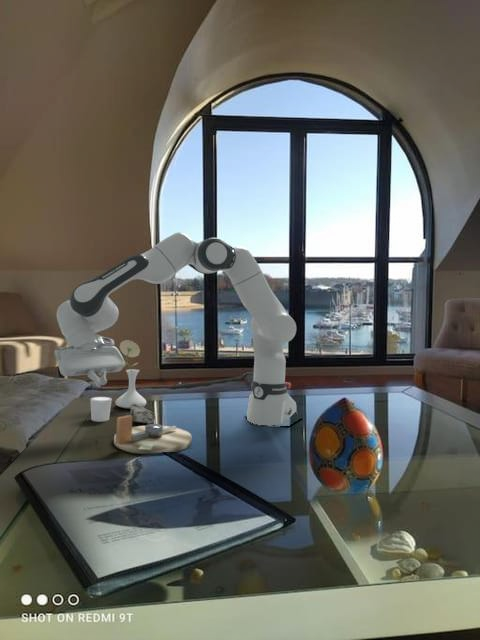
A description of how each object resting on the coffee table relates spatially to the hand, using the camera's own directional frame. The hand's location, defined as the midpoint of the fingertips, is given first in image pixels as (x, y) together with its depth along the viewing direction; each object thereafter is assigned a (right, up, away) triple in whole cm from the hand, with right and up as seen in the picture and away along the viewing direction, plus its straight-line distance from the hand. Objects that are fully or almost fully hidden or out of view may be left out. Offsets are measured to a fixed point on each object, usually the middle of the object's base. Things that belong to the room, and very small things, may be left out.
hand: (101, 384), depth 131 cm
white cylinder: (-6, -15, +19) cm, 25 cm away
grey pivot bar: (+14, -15, -2) cm, 20 cm away
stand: (+15, -17, 0) cm, 22 cm away
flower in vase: (-1, -14, +38) cm, 41 cm away
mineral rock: (+7, -16, +21) cm, 27 cm away
